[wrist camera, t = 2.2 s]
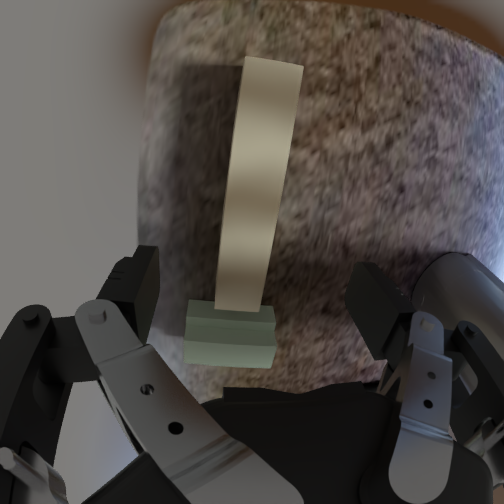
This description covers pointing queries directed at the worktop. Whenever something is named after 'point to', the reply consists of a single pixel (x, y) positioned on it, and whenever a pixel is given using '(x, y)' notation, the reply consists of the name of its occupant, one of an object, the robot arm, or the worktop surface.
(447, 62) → the worktop surface
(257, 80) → the bar
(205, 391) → the worktop surface
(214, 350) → the ridge
